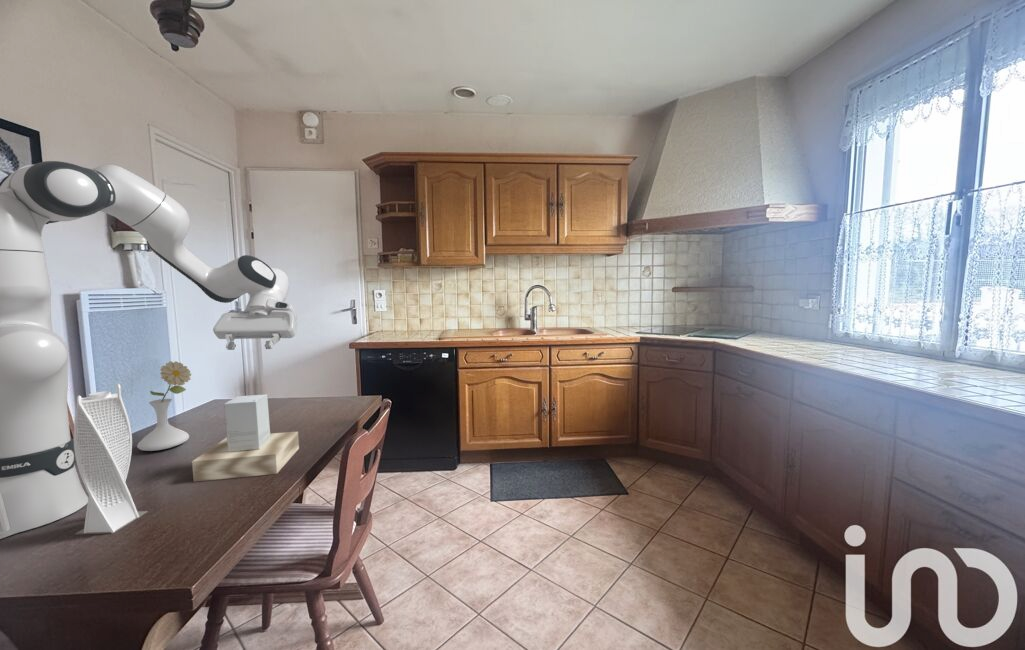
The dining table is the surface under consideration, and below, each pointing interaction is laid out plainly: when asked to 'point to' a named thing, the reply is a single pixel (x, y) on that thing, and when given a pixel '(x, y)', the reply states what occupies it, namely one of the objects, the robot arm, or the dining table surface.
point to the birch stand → (246, 459)
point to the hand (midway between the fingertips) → (249, 348)
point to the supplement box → (247, 422)
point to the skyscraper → (104, 461)
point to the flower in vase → (164, 432)
